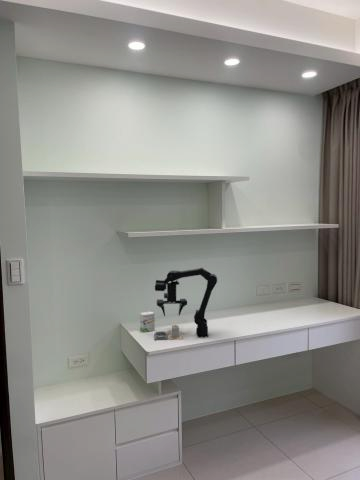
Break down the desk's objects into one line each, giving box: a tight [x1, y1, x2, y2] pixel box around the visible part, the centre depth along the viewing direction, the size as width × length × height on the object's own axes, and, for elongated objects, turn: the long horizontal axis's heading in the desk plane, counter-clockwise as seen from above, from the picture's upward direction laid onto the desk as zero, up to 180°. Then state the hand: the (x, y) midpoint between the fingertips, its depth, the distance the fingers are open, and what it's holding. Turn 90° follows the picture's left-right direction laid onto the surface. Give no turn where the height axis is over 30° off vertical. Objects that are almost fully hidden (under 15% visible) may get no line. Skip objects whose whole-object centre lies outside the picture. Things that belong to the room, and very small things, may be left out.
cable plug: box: [171, 324, 180, 338], centre depth 228 cm, size 4×5×7 cm
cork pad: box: [167, 333, 184, 341], centre depth 229 cm, size 9×9×1 cm
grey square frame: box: [153, 331, 169, 341], centre depth 228 cm, size 8×9×2 cm
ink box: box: [139, 311, 156, 333], centre depth 240 cm, size 8×5×12 cm, turn 116°
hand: (171, 315), depth 231 cm, fingers open, 9 cm apart
